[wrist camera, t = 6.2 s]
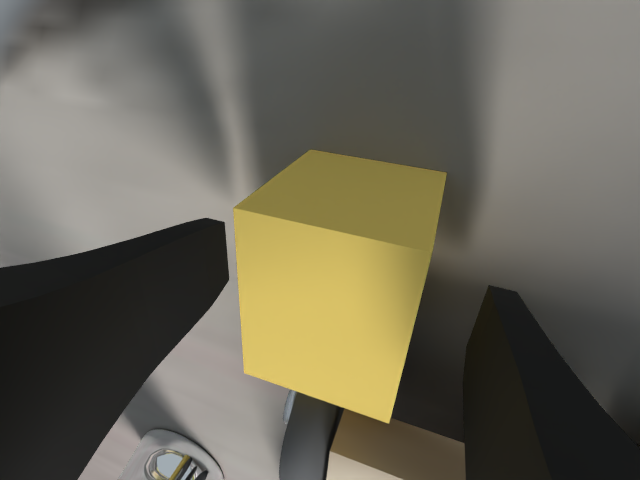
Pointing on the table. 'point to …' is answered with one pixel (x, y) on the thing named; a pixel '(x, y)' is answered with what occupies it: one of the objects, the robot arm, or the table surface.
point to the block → (335, 276)
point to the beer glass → (170, 459)
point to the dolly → (361, 446)
